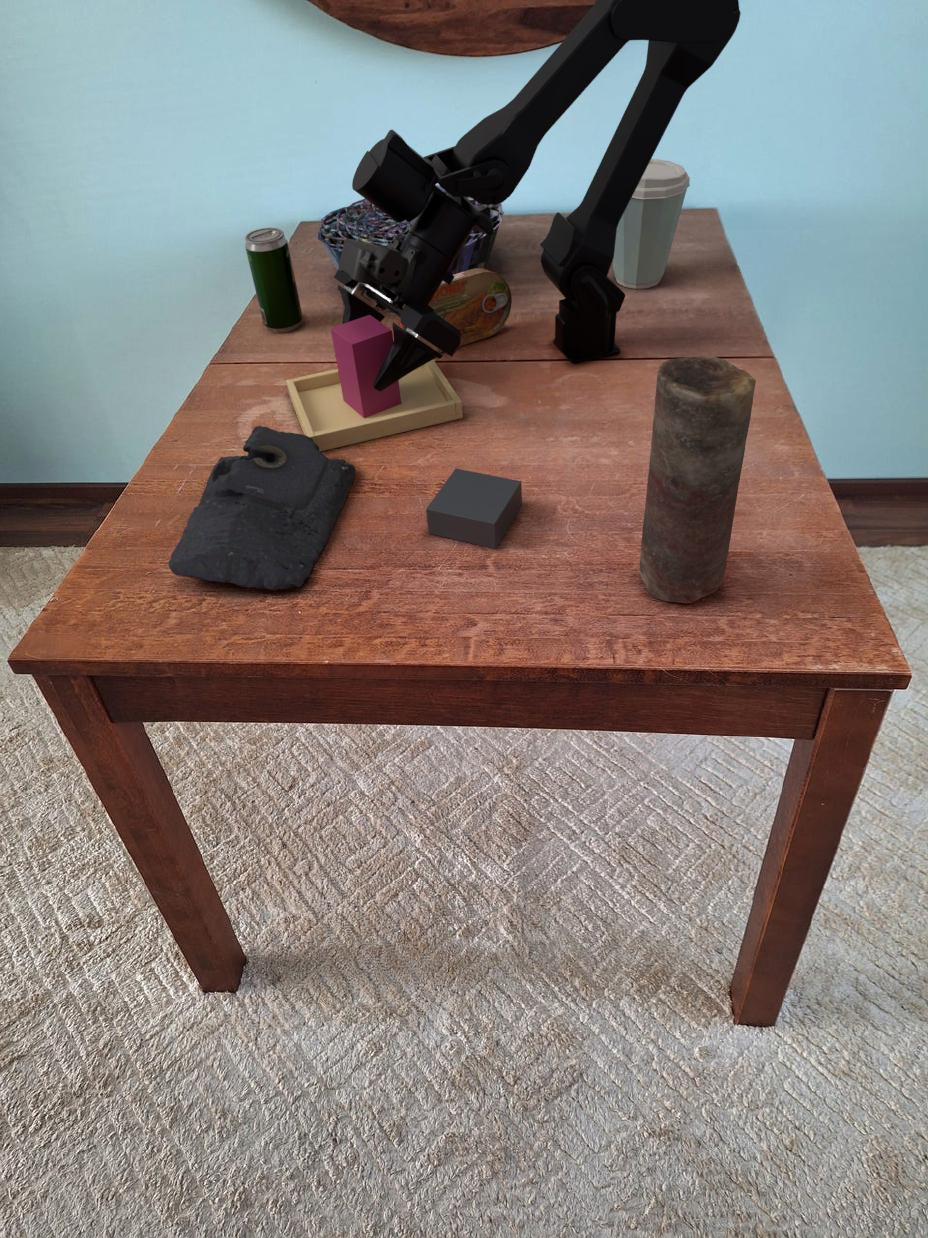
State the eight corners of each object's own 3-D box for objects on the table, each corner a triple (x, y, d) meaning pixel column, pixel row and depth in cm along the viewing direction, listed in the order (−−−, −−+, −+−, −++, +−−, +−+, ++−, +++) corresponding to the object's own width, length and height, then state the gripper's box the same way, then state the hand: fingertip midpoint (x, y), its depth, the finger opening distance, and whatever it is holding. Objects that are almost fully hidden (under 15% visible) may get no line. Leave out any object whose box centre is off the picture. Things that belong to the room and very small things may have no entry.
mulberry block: (380, 386, 103) (369, 314, 97) (401, 403, 100) (392, 330, 94) (343, 400, 101) (330, 328, 95) (364, 418, 98) (351, 344, 92)
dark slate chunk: (147, 590, 80) (129, 551, 77) (229, 456, 96) (217, 418, 92) (304, 600, 78) (294, 560, 74) (363, 460, 93) (356, 422, 90)
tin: (409, 362, 108) (402, 297, 102) (399, 352, 110) (391, 287, 104) (514, 330, 113) (512, 265, 107) (502, 321, 115) (499, 257, 109)
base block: (457, 492, 88) (455, 467, 86) (522, 505, 86) (521, 481, 84) (428, 533, 84) (425, 508, 81) (495, 548, 81) (494, 523, 79)
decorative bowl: (295, 308, 126) (277, 240, 118) (400, 226, 140) (390, 161, 133) (442, 342, 115) (433, 271, 108) (540, 250, 130) (537, 181, 122)
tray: (428, 364, 108) (426, 348, 106) (463, 417, 98) (461, 401, 97) (289, 395, 104) (285, 379, 103) (311, 453, 95) (307, 437, 93)
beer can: (274, 337, 115) (253, 246, 107) (258, 323, 119) (236, 234, 110) (310, 325, 117) (292, 235, 109) (293, 312, 121) (274, 223, 112)
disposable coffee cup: (631, 258, 126) (639, 145, 116) (694, 276, 121) (709, 160, 110) (585, 283, 121) (590, 168, 111) (649, 303, 116) (660, 184, 105)
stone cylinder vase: (629, 553, 80) (647, 351, 66) (708, 545, 80) (743, 342, 66) (649, 610, 74) (673, 403, 60) (733, 601, 74) (778, 393, 60)
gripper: (335, 184, 93) (265, 312, 97) (426, 232, 82) (342, 376, 86) (406, 238, 102) (338, 355, 105) (497, 289, 90) (418, 418, 94)
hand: (356, 373), depth 97 cm, fingers open, 9 cm apart
